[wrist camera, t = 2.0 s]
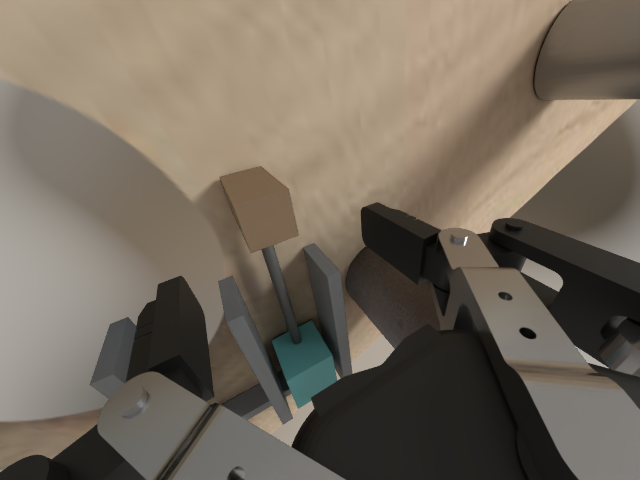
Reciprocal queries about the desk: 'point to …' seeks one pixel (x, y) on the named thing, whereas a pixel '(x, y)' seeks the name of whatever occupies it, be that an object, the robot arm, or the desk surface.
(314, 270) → the lane rack
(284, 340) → the block ended dumbbell
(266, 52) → the desk surface
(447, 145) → the desk surface
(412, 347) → the robot arm
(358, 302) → the pillar candle
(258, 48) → the desk surface
